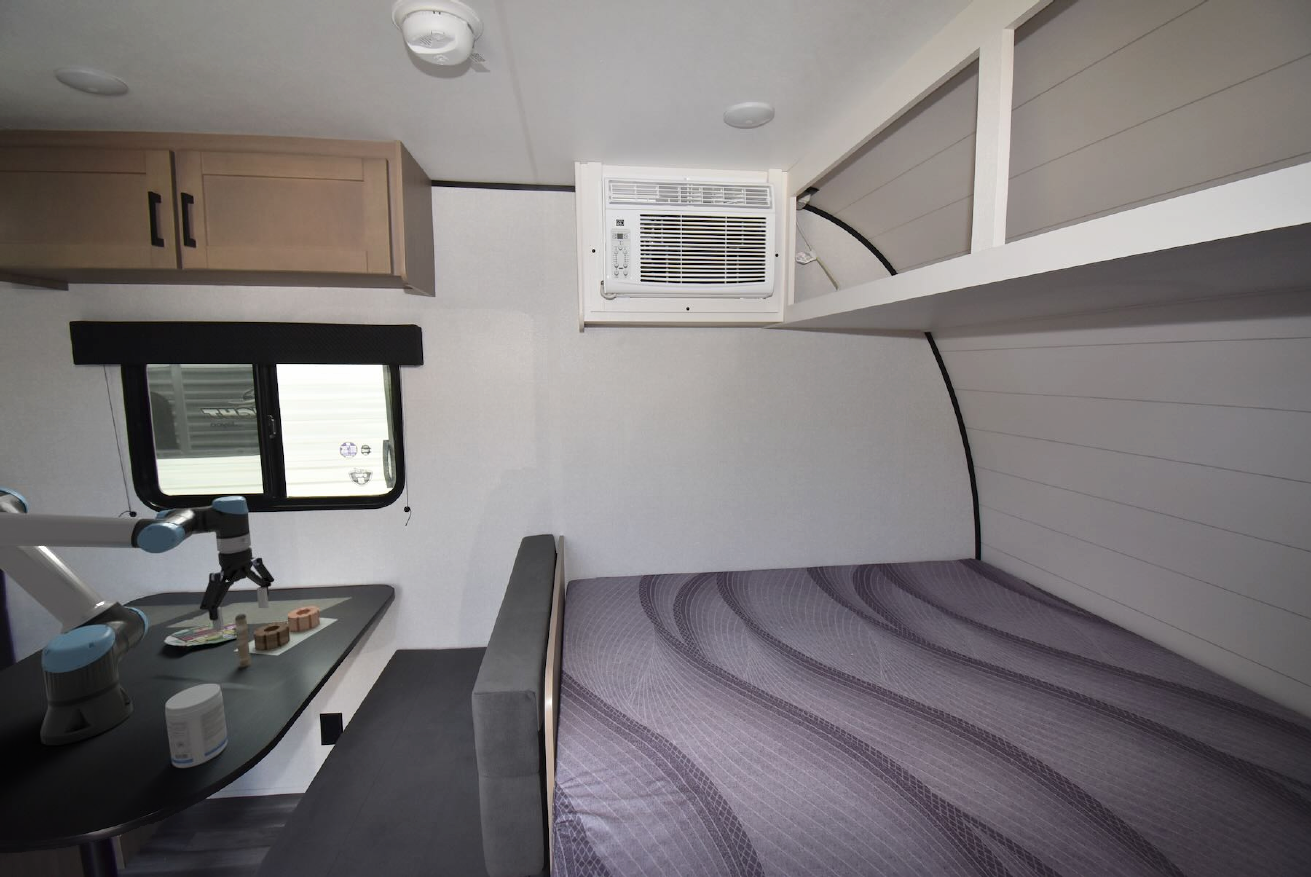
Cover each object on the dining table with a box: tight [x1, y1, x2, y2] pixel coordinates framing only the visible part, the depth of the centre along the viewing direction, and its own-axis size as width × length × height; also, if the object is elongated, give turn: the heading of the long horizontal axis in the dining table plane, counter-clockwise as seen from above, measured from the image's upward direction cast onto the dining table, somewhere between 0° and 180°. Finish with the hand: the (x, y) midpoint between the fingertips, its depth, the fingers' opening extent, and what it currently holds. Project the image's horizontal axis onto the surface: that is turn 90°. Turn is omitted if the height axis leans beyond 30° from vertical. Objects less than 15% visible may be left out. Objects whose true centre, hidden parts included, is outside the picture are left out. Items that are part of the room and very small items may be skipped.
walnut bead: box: [253, 621, 290, 651], centre depth 159 cm, size 9×9×5 cm
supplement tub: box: [164, 683, 228, 769], centre depth 113 cm, size 10×10×15 cm
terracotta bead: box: [287, 605, 320, 632], centre depth 171 cm, size 9×9×5 cm
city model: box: [163, 622, 249, 651], centre depth 165 cm, size 25×23×6 cm
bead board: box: [233, 617, 339, 656], centre depth 165 cm, size 24×16×1 cm, turn 171°
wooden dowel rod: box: [234, 613, 251, 668], centre depth 146 cm, size 3×3×17 cm
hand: (242, 618), depth 146 cm, fingers open, 13 cm apart
